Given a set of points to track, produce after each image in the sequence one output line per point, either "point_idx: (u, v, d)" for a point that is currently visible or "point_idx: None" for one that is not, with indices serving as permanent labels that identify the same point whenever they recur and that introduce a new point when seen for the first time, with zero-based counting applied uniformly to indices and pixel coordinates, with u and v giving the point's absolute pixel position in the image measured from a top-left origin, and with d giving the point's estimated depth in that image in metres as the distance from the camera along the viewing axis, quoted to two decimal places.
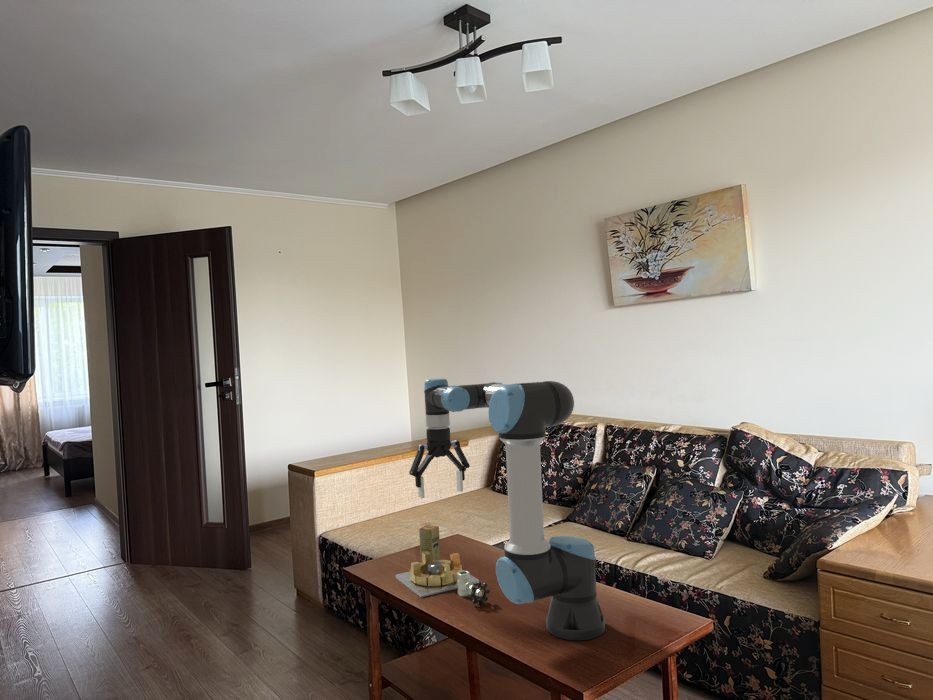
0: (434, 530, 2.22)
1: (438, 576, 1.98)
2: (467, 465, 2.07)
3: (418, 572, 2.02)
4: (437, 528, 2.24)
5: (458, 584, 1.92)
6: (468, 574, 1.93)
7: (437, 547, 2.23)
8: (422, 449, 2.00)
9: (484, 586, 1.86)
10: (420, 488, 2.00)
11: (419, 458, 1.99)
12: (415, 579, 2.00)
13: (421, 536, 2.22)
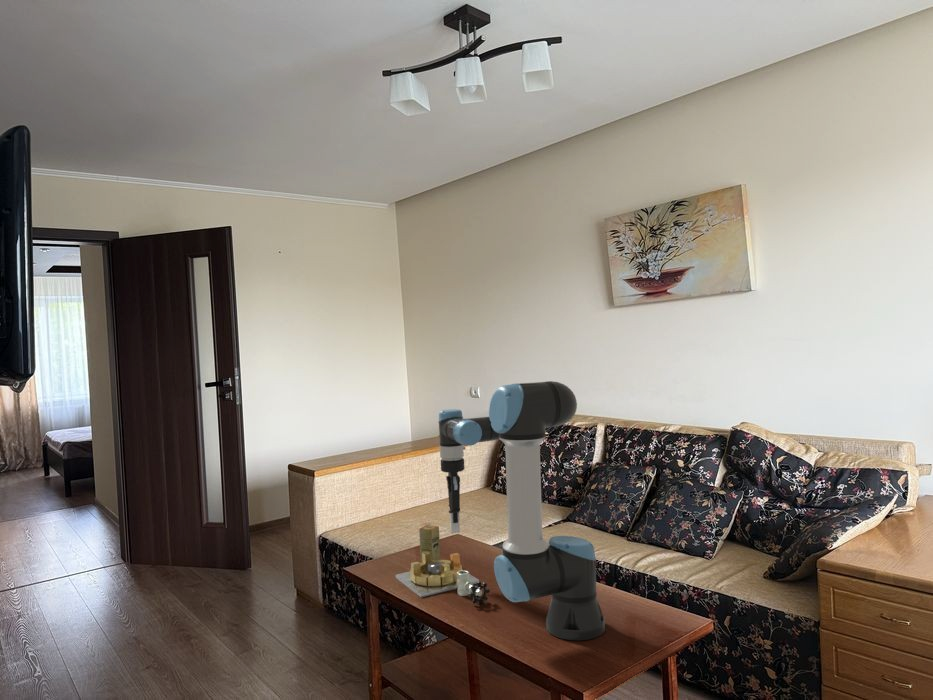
0: (434, 530, 2.22)
1: (438, 576, 1.98)
2: (451, 509, 2.01)
3: (418, 572, 2.02)
4: (437, 528, 2.24)
5: (458, 584, 1.92)
6: (468, 574, 1.93)
7: (437, 547, 2.23)
8: None
9: (484, 586, 1.86)
10: None
11: (448, 489, 2.08)
12: (415, 579, 2.00)
13: (421, 536, 2.22)
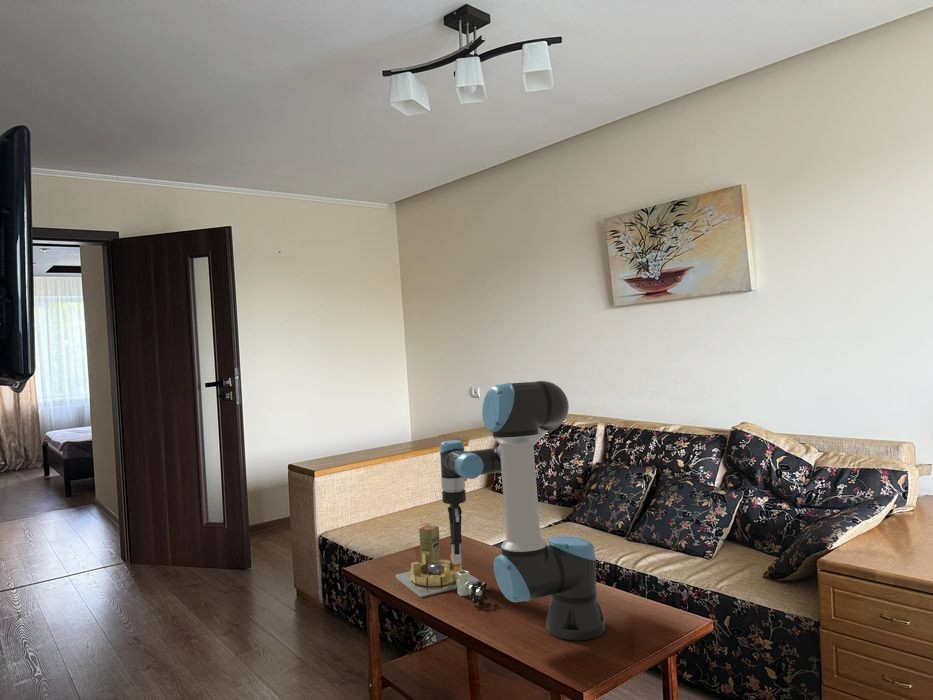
0: (434, 530, 2.22)
1: (438, 576, 1.98)
2: (453, 540, 2.01)
3: (418, 572, 2.02)
4: (437, 528, 2.24)
5: (458, 584, 1.93)
6: (467, 574, 1.93)
7: (437, 547, 2.23)
8: None
9: (484, 585, 1.86)
10: None
11: None
12: (415, 579, 2.00)
13: (421, 536, 2.22)
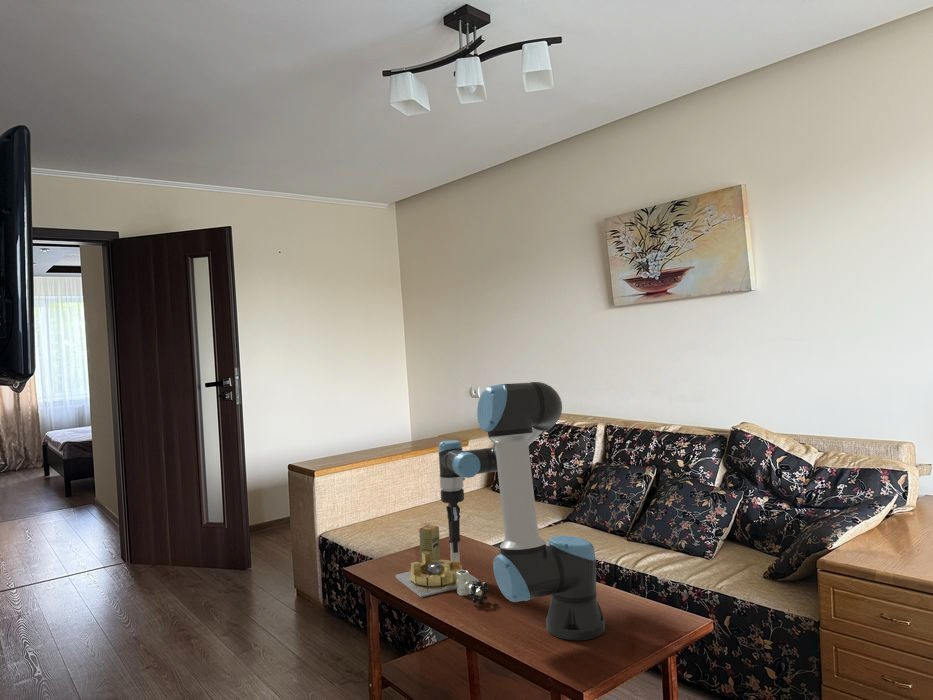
0: (434, 530, 2.22)
1: (438, 576, 1.98)
2: (451, 539, 2.04)
3: (418, 572, 2.02)
4: (437, 528, 2.24)
5: (457, 583, 1.93)
6: (467, 573, 1.93)
7: (437, 547, 2.23)
8: None
9: (484, 585, 1.86)
10: None
11: (448, 519, 2.12)
12: (415, 579, 2.00)
13: (421, 536, 2.22)
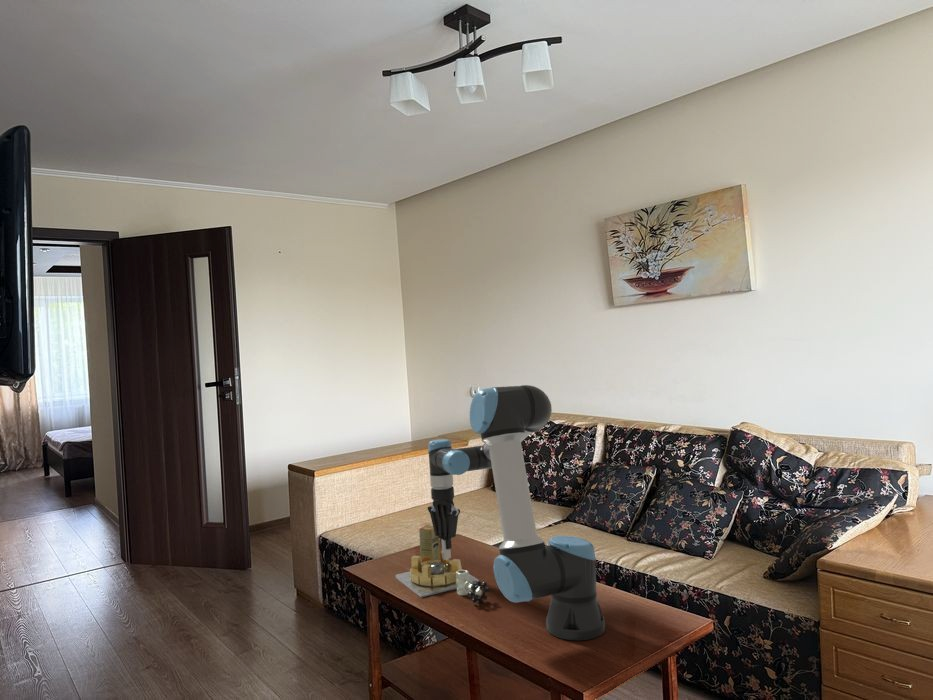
0: None
1: (452, 573, 2.01)
2: (449, 535, 2.09)
3: (430, 574, 1.99)
4: None
5: (457, 583, 1.93)
6: (467, 573, 1.94)
7: (437, 547, 2.23)
8: (429, 510, 2.14)
9: (484, 585, 1.87)
10: None
11: (432, 519, 2.14)
12: (431, 581, 1.97)
13: (421, 536, 2.22)
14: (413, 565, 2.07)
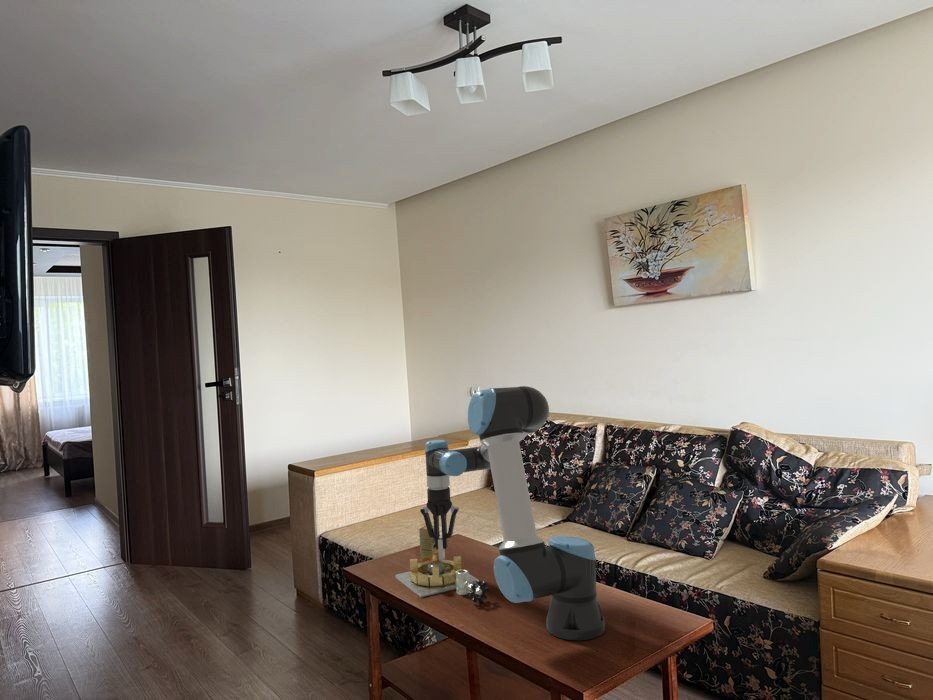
0: None
1: (457, 569, 2.04)
2: (448, 534, 2.10)
3: None
4: None
5: (457, 583, 1.93)
6: (467, 573, 1.94)
7: None
8: (423, 512, 2.12)
9: (484, 584, 1.87)
10: None
11: (426, 521, 2.12)
12: (442, 581, 1.98)
13: (421, 536, 2.22)
14: (412, 568, 2.04)
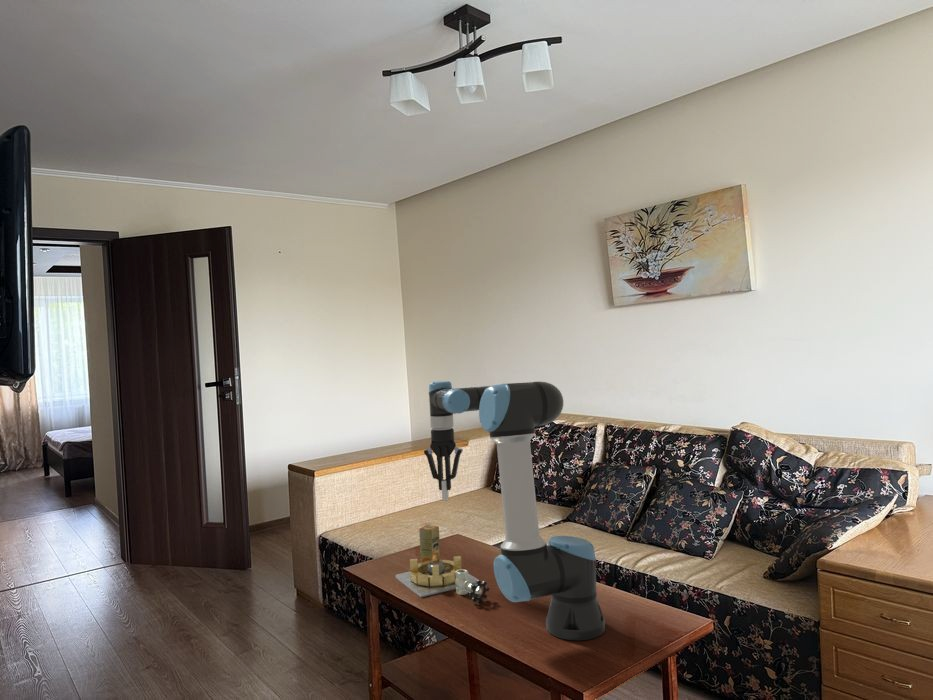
0: (434, 530, 2.22)
1: (457, 569, 2.04)
2: (452, 475, 2.09)
3: None
4: (437, 528, 2.24)
5: (457, 583, 1.93)
6: (466, 572, 1.94)
7: (437, 547, 2.23)
8: (426, 453, 2.11)
9: (483, 584, 1.87)
10: None
11: (429, 462, 2.11)
12: (442, 581, 1.98)
13: (421, 536, 2.22)
14: (412, 568, 2.04)
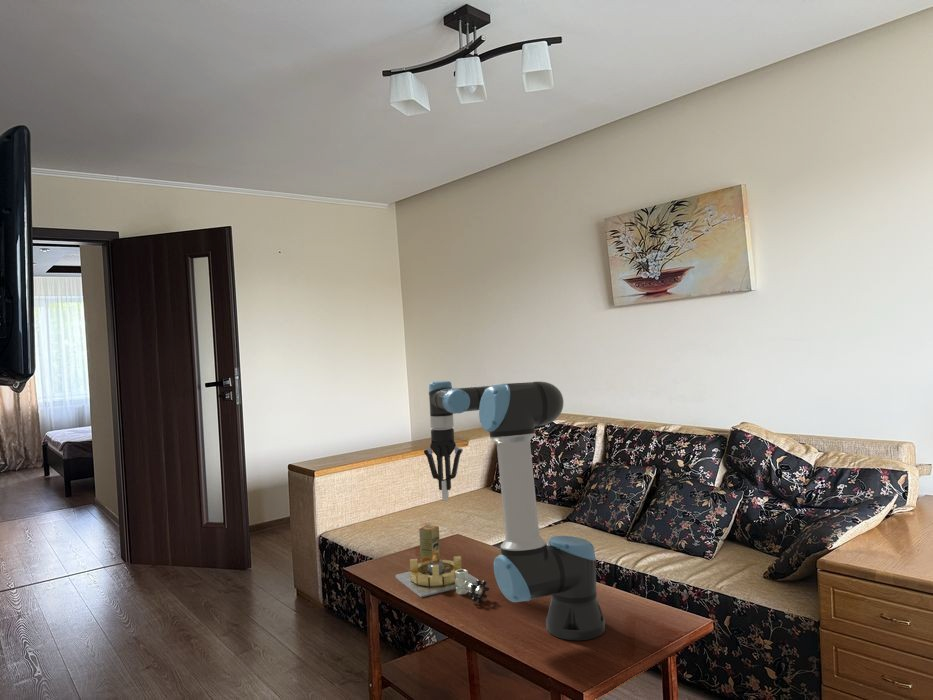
0: (434, 530, 2.22)
1: (457, 569, 2.04)
2: (452, 475, 2.09)
3: None
4: (437, 528, 2.24)
5: (456, 582, 1.94)
6: (466, 572, 1.94)
7: (437, 547, 2.23)
8: (426, 453, 2.11)
9: (483, 584, 1.87)
10: None
11: (429, 462, 2.11)
12: (442, 581, 1.98)
13: (421, 536, 2.22)
14: (412, 568, 2.04)
